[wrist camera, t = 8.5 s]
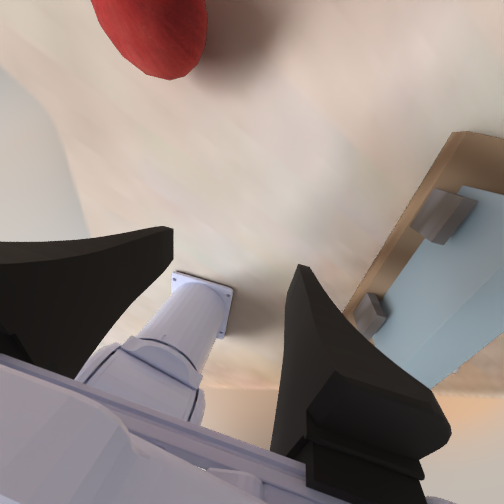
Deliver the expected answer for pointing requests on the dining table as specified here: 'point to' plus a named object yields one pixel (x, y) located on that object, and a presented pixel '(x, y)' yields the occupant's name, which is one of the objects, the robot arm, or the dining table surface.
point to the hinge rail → (429, 218)
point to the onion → (156, 33)
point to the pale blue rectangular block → (448, 296)
